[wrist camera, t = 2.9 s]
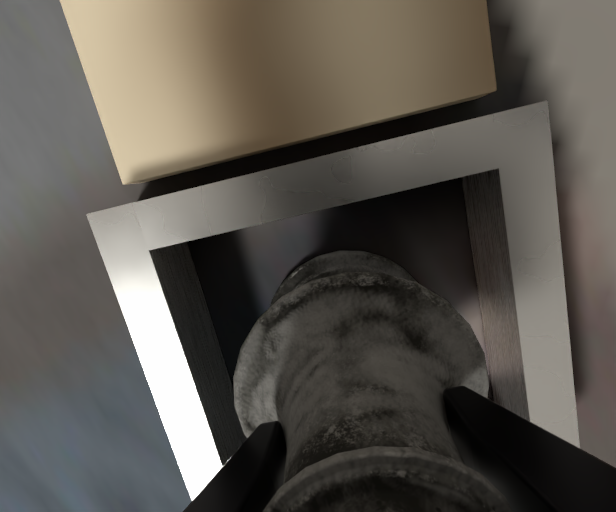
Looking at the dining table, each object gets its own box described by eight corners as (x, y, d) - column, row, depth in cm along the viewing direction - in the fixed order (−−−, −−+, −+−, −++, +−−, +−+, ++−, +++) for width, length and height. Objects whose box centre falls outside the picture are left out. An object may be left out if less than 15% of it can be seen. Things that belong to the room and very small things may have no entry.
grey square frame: (496, 115, 11) (547, 100, 8) (536, 440, 13) (585, 503, 11) (135, 203, 12) (85, 214, 9) (233, 493, 14) (214, 562, 12)
